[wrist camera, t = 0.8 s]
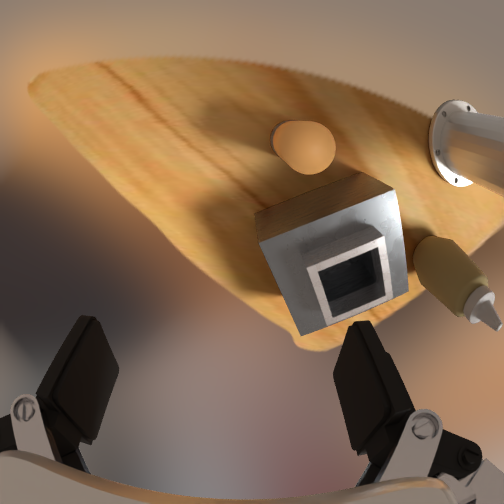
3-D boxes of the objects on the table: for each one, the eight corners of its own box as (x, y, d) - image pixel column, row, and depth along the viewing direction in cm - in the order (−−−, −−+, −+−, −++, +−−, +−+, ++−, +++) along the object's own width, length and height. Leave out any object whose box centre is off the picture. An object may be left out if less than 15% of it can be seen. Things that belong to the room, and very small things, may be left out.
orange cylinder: (301, 114, 27) (325, 113, 19) (315, 151, 29) (343, 164, 21) (263, 128, 28) (272, 131, 20) (278, 165, 30) (293, 183, 22)
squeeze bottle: (401, 242, 35) (479, 323, 19) (443, 219, 33) (525, 284, 17) (409, 283, 38) (470, 364, 22) (447, 261, 37) (513, 329, 21)
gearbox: (362, 171, 30) (408, 197, 21) (381, 259, 36) (418, 303, 26) (254, 213, 32) (260, 256, 23) (290, 296, 38) (304, 351, 28)
